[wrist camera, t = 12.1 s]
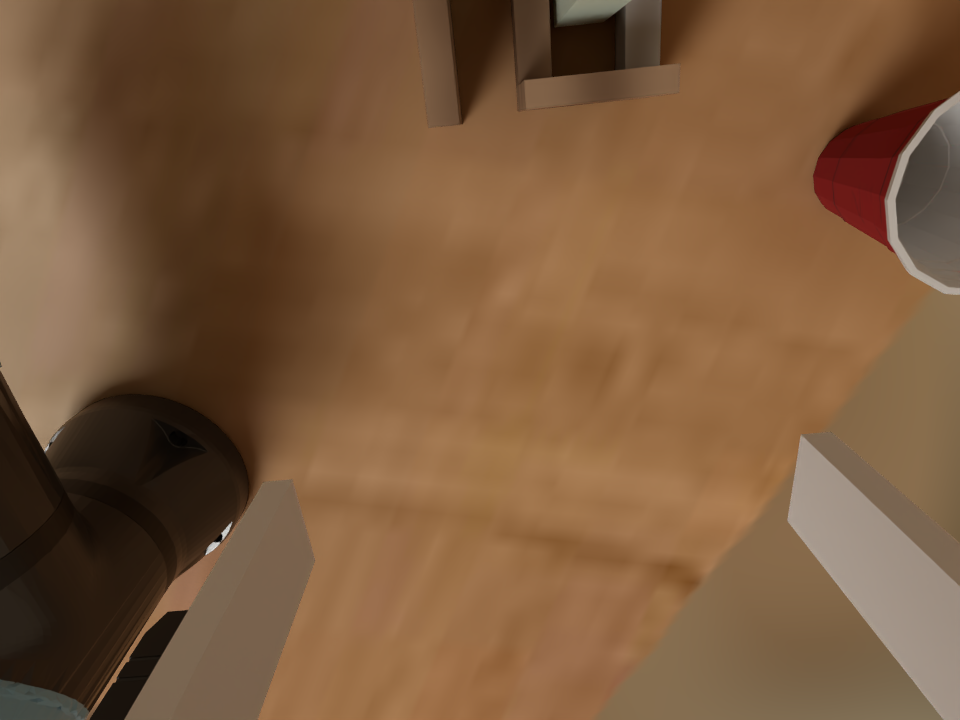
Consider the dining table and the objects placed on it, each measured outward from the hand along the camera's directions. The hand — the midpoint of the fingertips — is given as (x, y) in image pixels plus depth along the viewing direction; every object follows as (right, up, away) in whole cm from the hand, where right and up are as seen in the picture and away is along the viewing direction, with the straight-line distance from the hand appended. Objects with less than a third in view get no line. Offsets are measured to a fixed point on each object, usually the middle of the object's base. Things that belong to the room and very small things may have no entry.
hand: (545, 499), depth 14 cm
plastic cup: (+23, +17, +22) cm, 36 cm away
